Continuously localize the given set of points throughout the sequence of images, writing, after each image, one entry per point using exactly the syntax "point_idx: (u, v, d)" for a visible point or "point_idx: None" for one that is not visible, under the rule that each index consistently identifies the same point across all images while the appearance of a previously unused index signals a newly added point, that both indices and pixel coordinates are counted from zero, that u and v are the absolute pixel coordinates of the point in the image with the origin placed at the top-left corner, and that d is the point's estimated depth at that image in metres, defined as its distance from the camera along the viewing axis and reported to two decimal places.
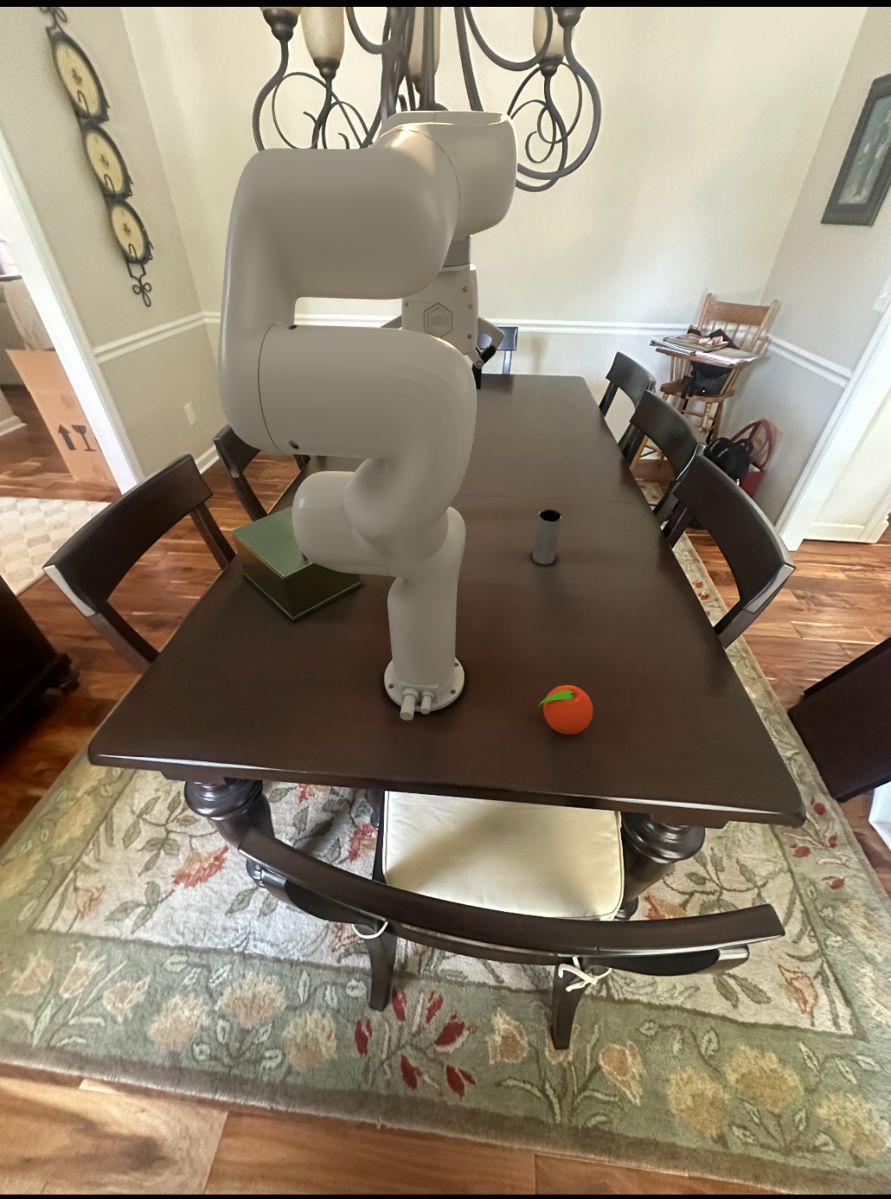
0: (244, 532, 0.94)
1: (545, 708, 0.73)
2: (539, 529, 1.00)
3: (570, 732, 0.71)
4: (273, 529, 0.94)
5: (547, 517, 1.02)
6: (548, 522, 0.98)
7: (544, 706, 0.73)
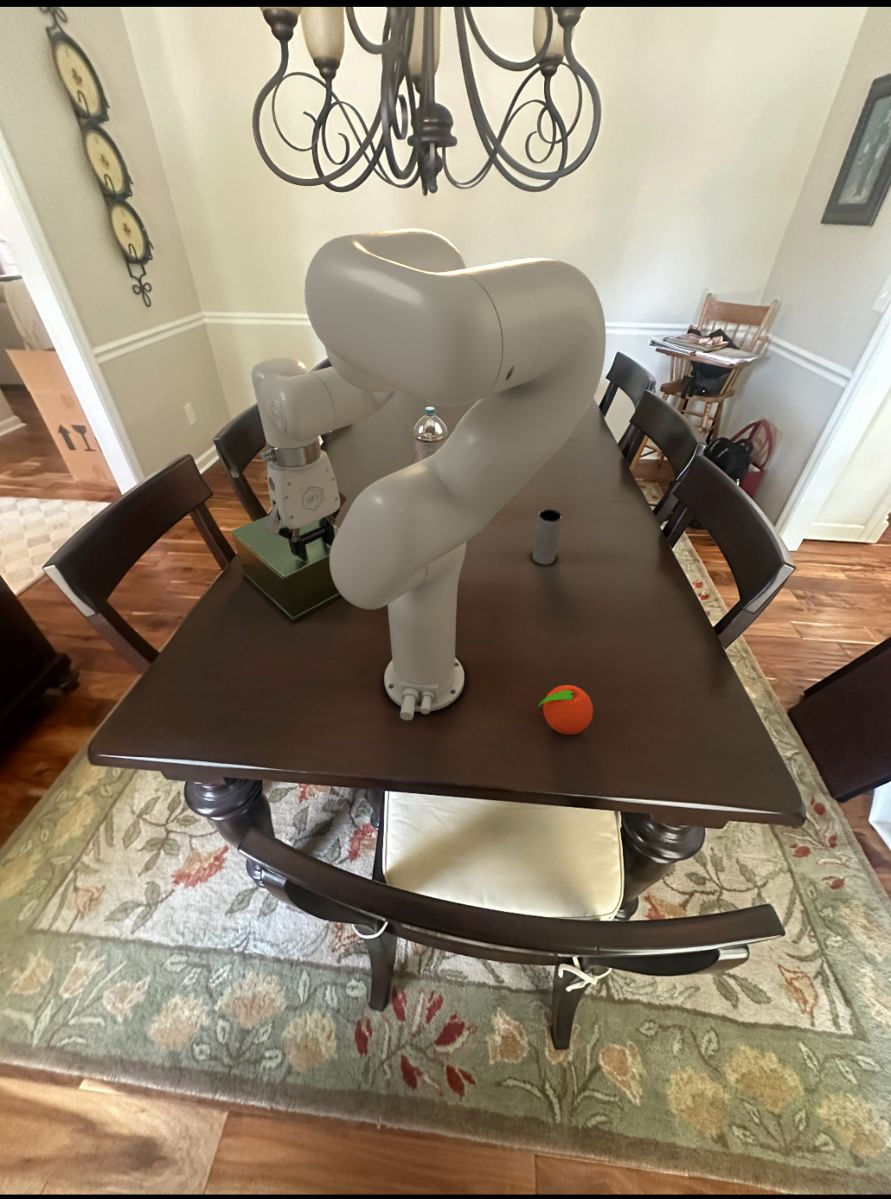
0: (244, 532, 0.94)
1: (545, 708, 0.73)
2: (539, 529, 1.00)
3: (570, 732, 0.71)
4: None
5: (547, 517, 1.02)
6: (548, 522, 0.98)
7: (544, 706, 0.73)
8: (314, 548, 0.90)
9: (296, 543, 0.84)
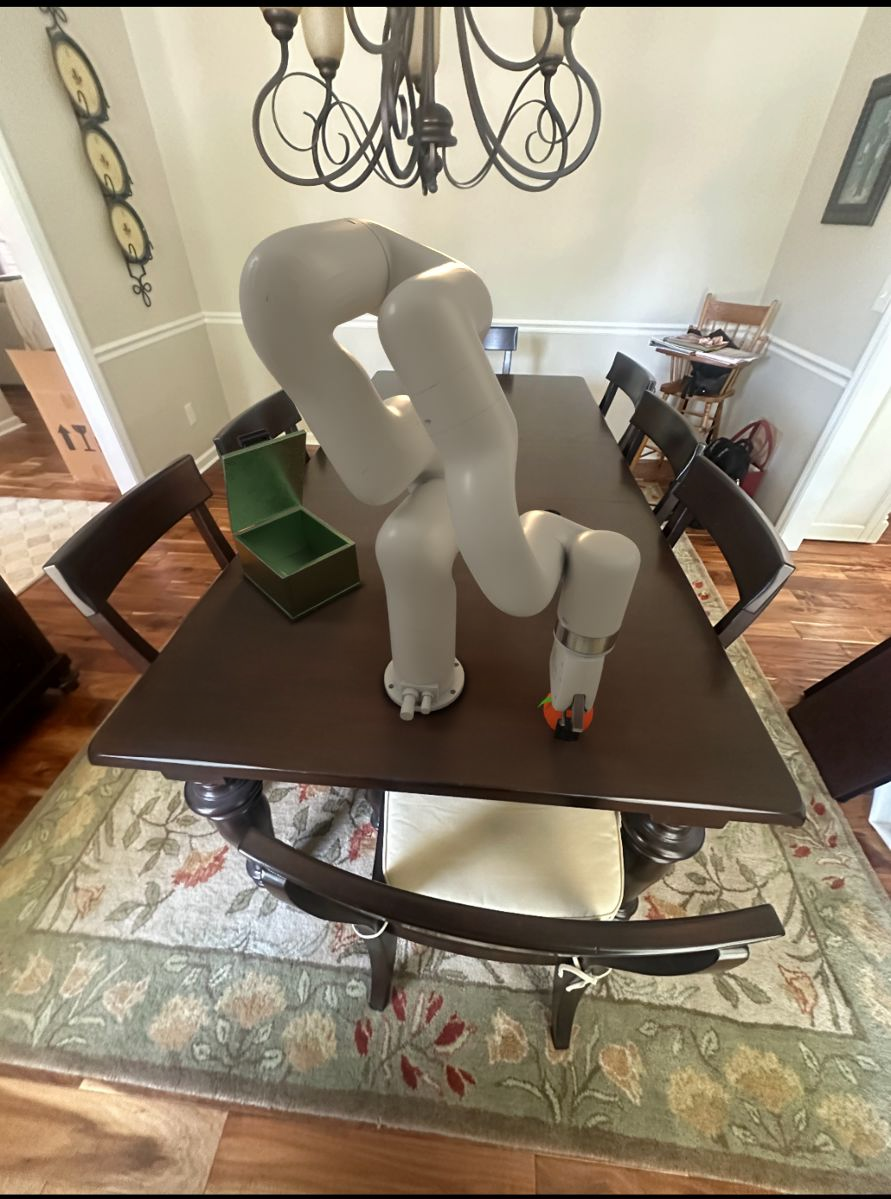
0: None
1: (545, 709, 0.73)
2: None
3: None
4: None
5: None
6: None
7: (544, 707, 0.73)
8: None
9: None
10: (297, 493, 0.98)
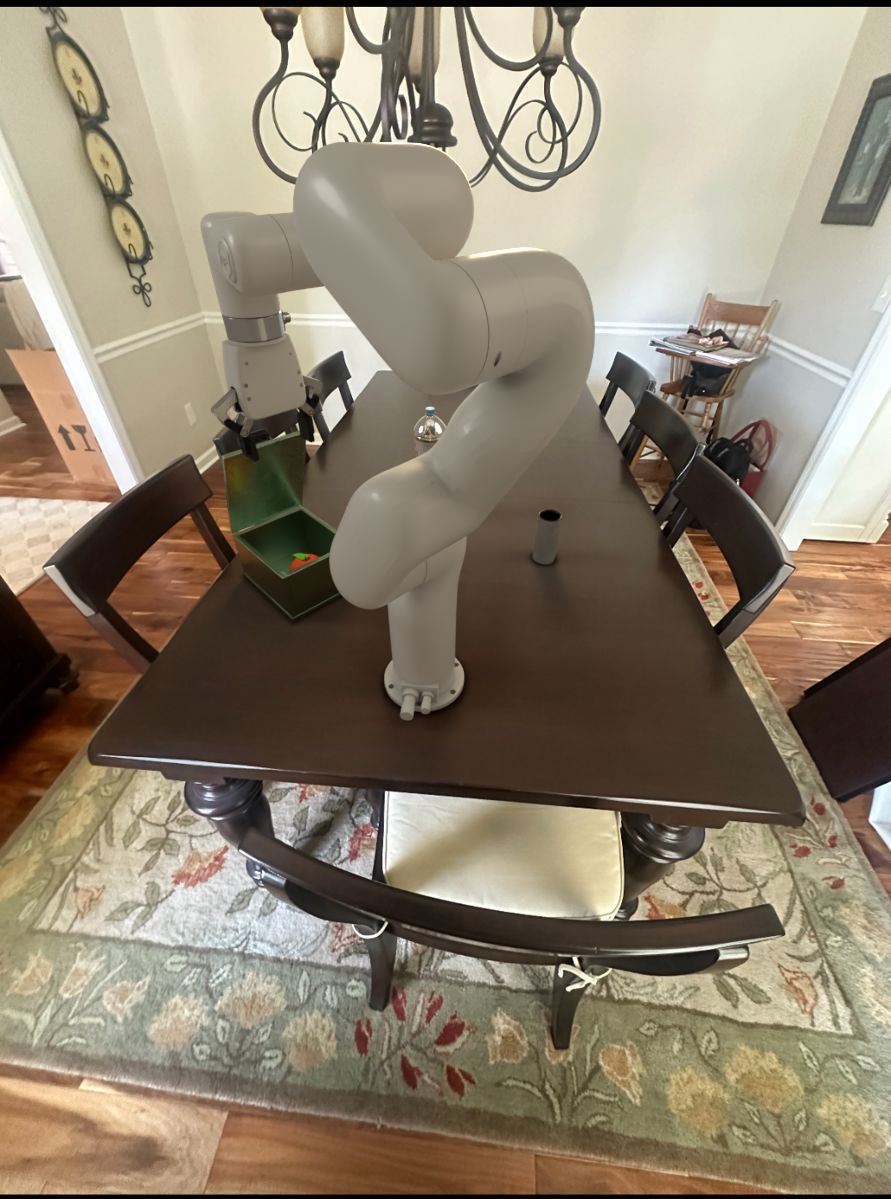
0: None
1: None
2: (539, 529, 1.00)
3: None
4: None
5: (547, 517, 1.02)
6: (548, 522, 0.98)
7: None
8: None
9: None
10: (297, 493, 0.98)
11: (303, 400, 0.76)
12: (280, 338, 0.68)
